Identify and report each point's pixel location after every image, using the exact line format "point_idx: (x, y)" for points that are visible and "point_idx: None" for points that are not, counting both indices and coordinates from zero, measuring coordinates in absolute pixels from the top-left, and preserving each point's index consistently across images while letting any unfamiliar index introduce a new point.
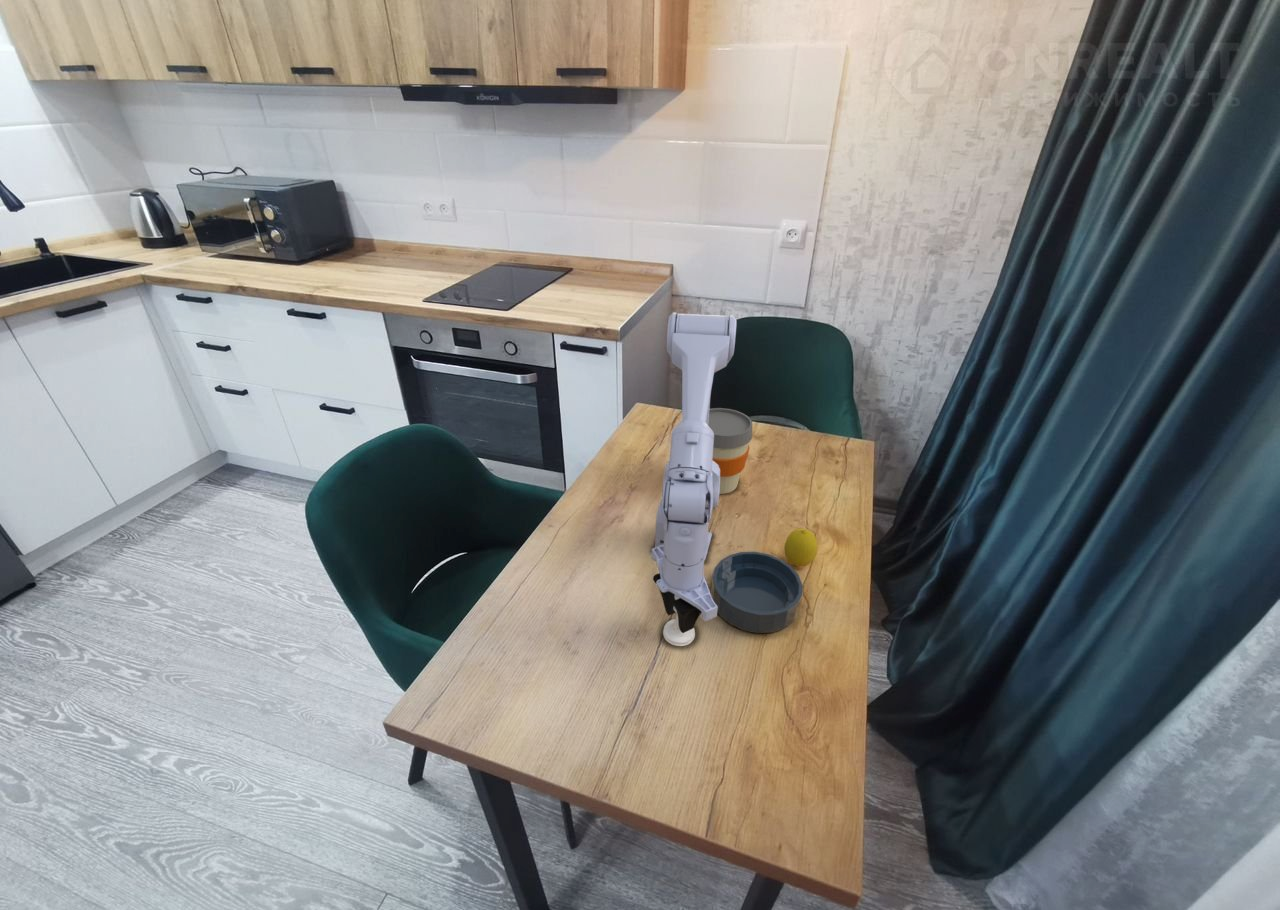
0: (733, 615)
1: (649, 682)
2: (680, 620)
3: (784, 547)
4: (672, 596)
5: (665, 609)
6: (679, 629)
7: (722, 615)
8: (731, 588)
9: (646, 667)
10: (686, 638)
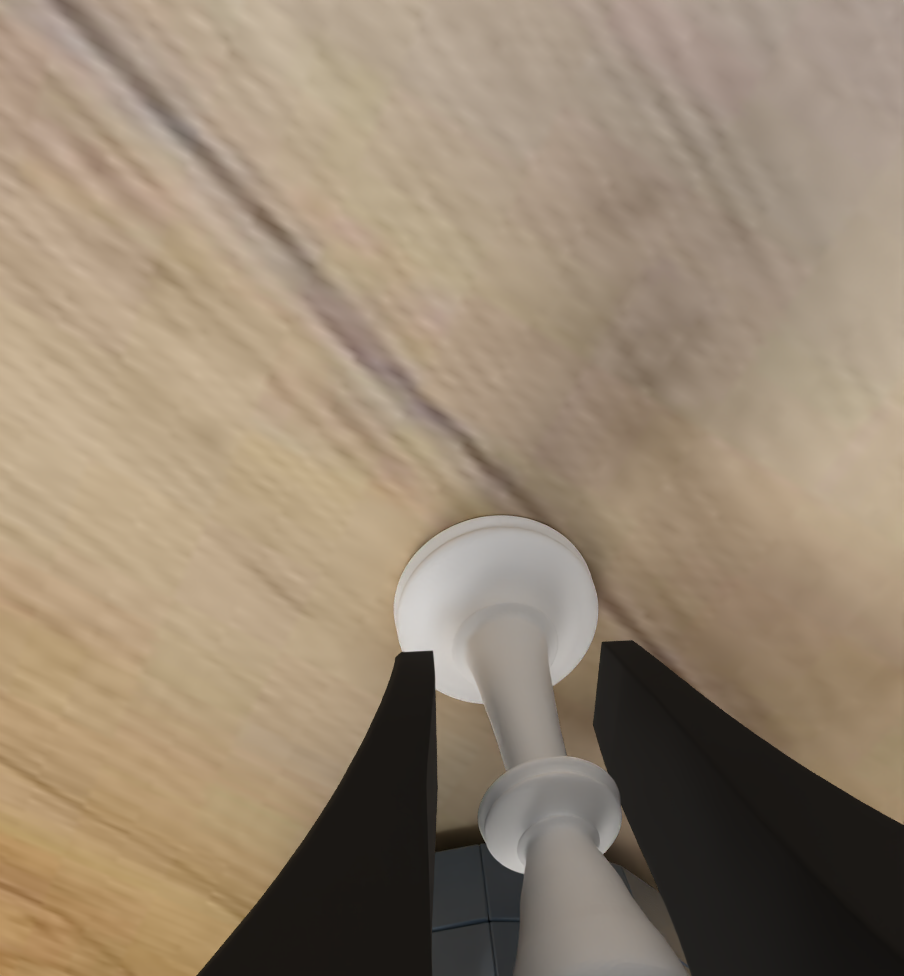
0: None
1: (220, 230)
2: (379, 772)
3: None
4: (705, 852)
5: (654, 660)
6: (473, 638)
7: (456, 863)
8: None
9: (352, 280)
10: (413, 633)
